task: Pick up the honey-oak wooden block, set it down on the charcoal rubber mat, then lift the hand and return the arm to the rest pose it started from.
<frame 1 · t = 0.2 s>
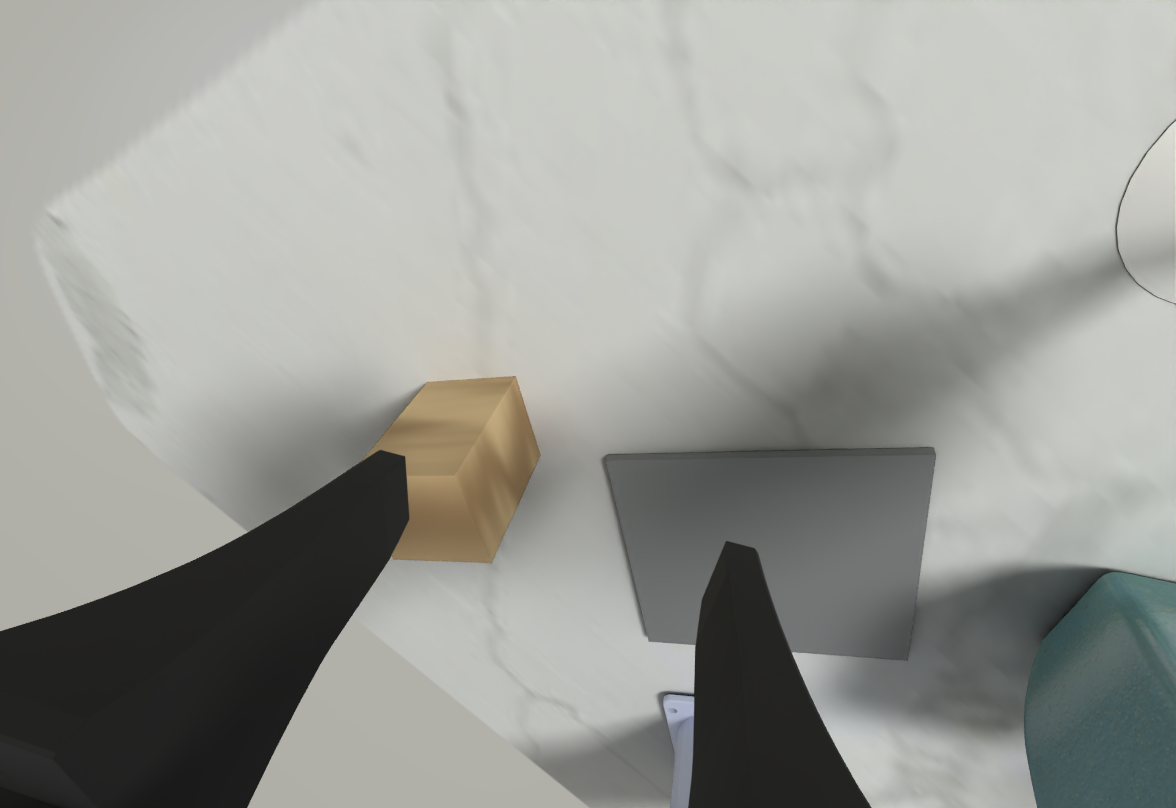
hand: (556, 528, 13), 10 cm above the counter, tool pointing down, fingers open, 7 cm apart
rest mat: (764, 558, 26), on the counter
flower pot: (1134, 617, 23), on the counter
oak block: (485, 419, 25), on the counter
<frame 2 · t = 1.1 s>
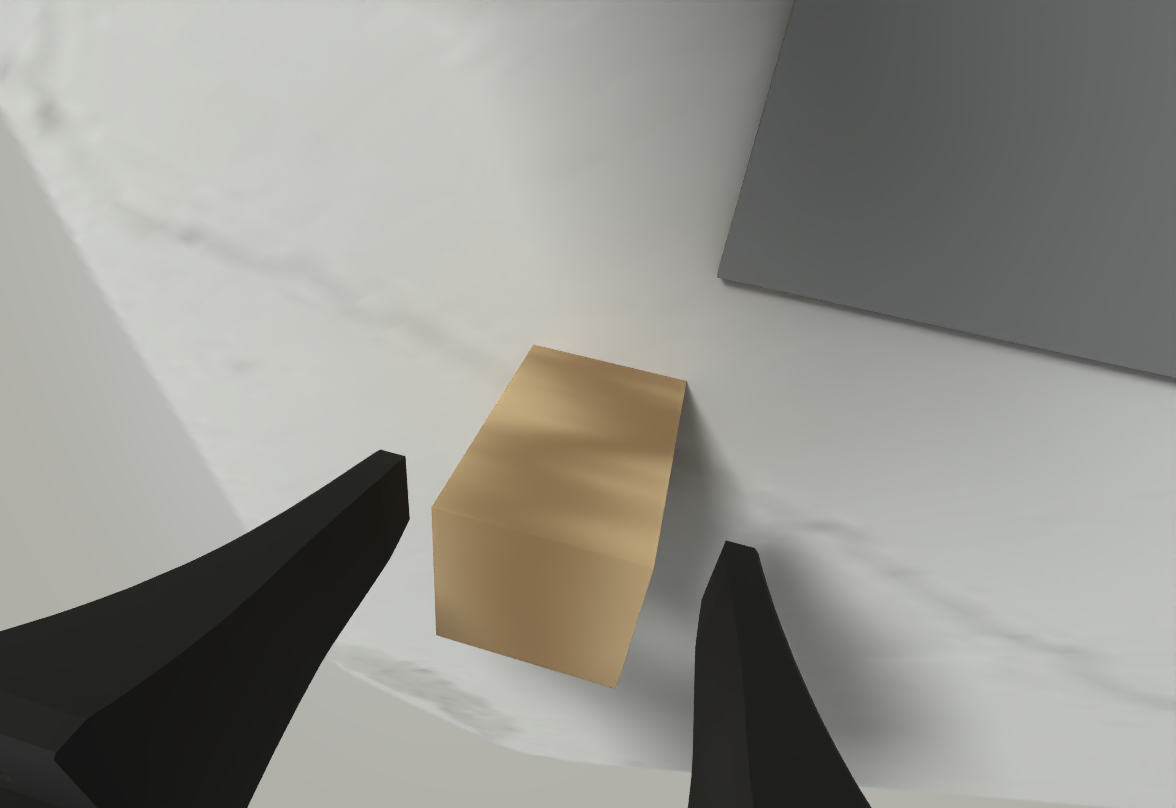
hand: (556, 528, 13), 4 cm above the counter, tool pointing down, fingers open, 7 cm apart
oak block: (597, 423, 16), on the counter
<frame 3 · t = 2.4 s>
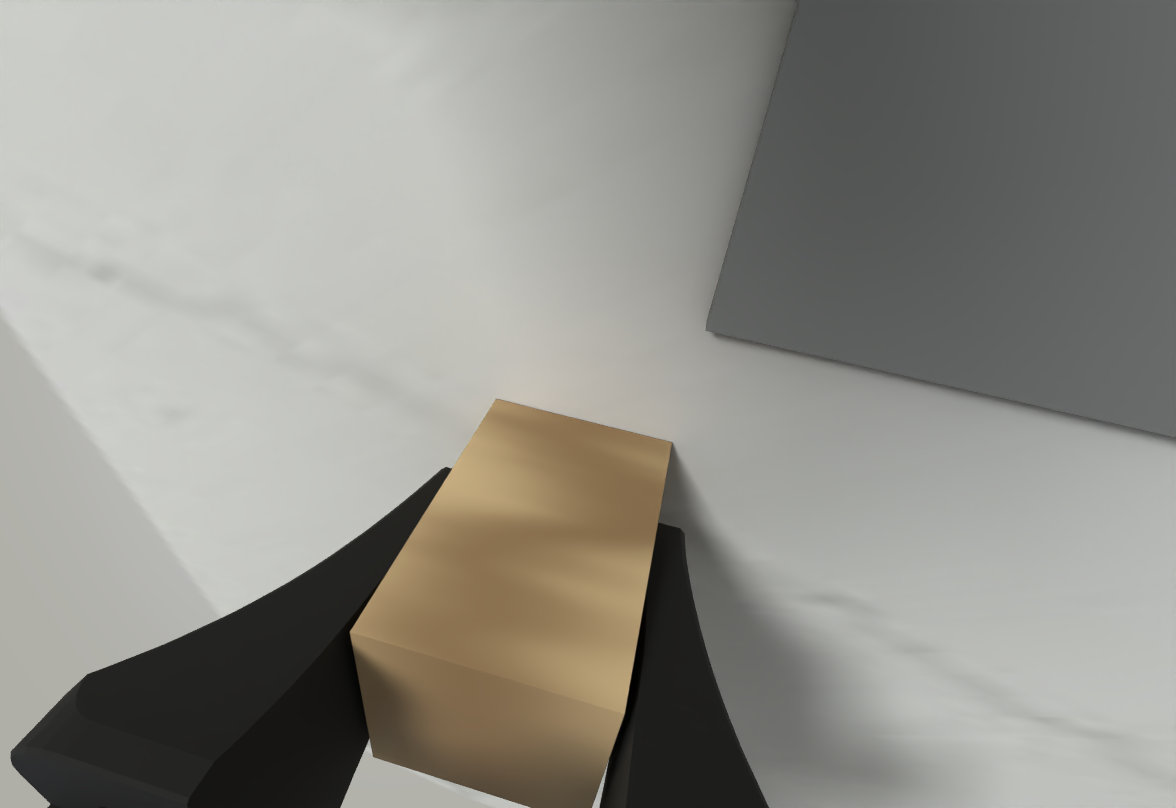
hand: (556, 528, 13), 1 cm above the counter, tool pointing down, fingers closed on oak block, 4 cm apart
oak block: (572, 485, 14), on the counter, touching gripper
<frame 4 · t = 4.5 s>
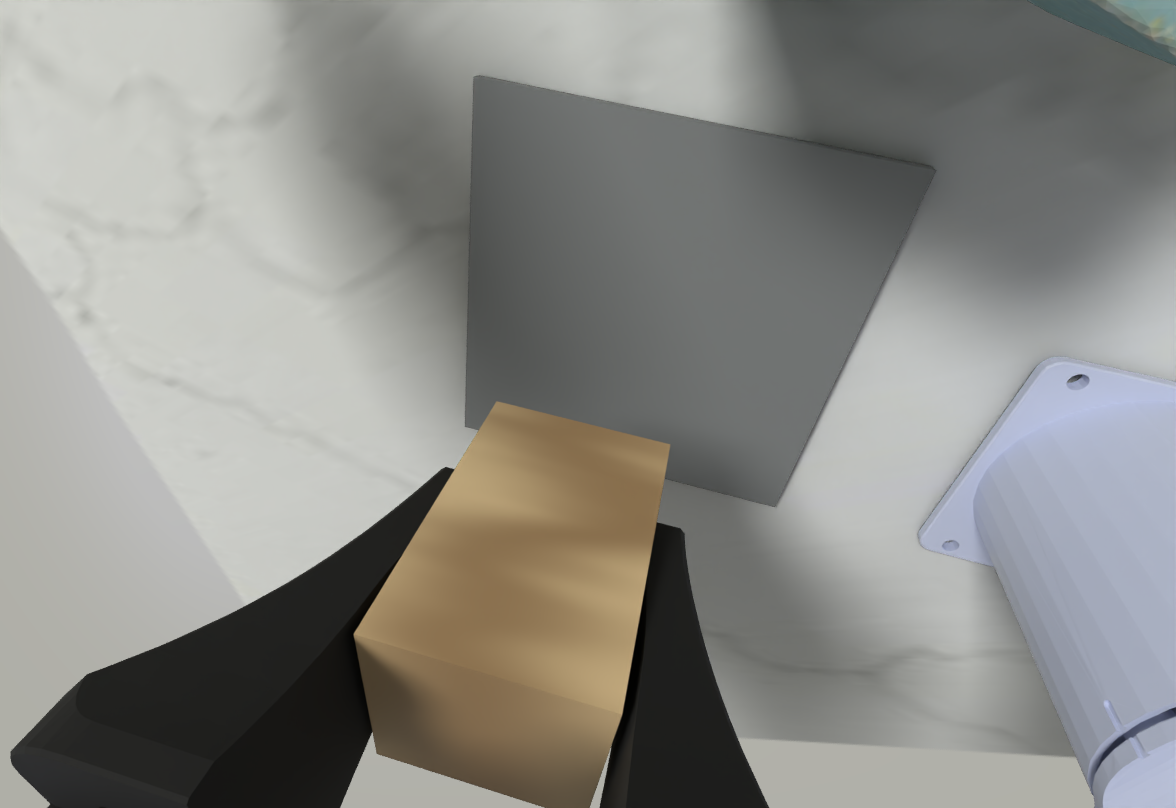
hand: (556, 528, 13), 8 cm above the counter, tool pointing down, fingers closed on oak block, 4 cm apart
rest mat: (650, 321, 19), on the counter
oak block: (571, 486, 14), point 7 cm above the counter, touching gripper
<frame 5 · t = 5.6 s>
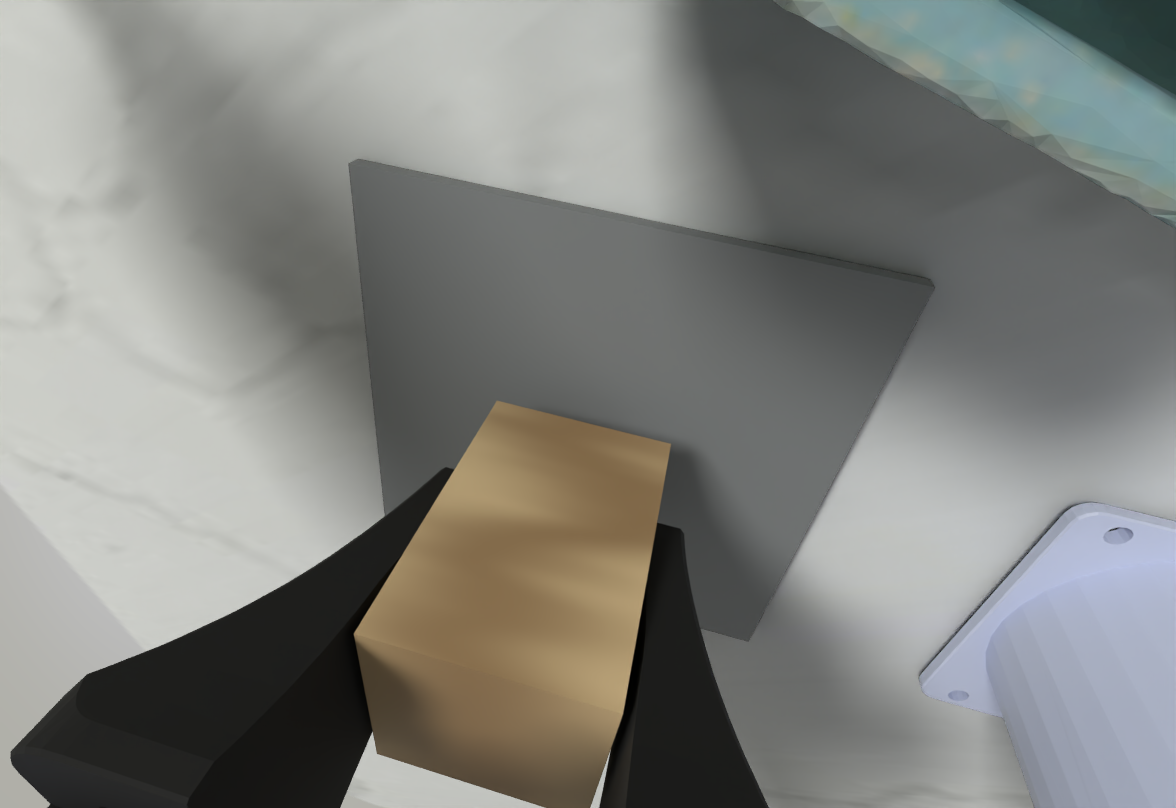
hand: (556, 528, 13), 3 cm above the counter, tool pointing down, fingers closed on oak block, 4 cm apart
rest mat: (590, 438, 16), on the counter
oak block: (572, 485, 14), point 2 cm above the counter, touching gripper
when the fingers open (3 cm above the counter, at t = 6.5 s): oak block stays where it is, resting on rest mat.
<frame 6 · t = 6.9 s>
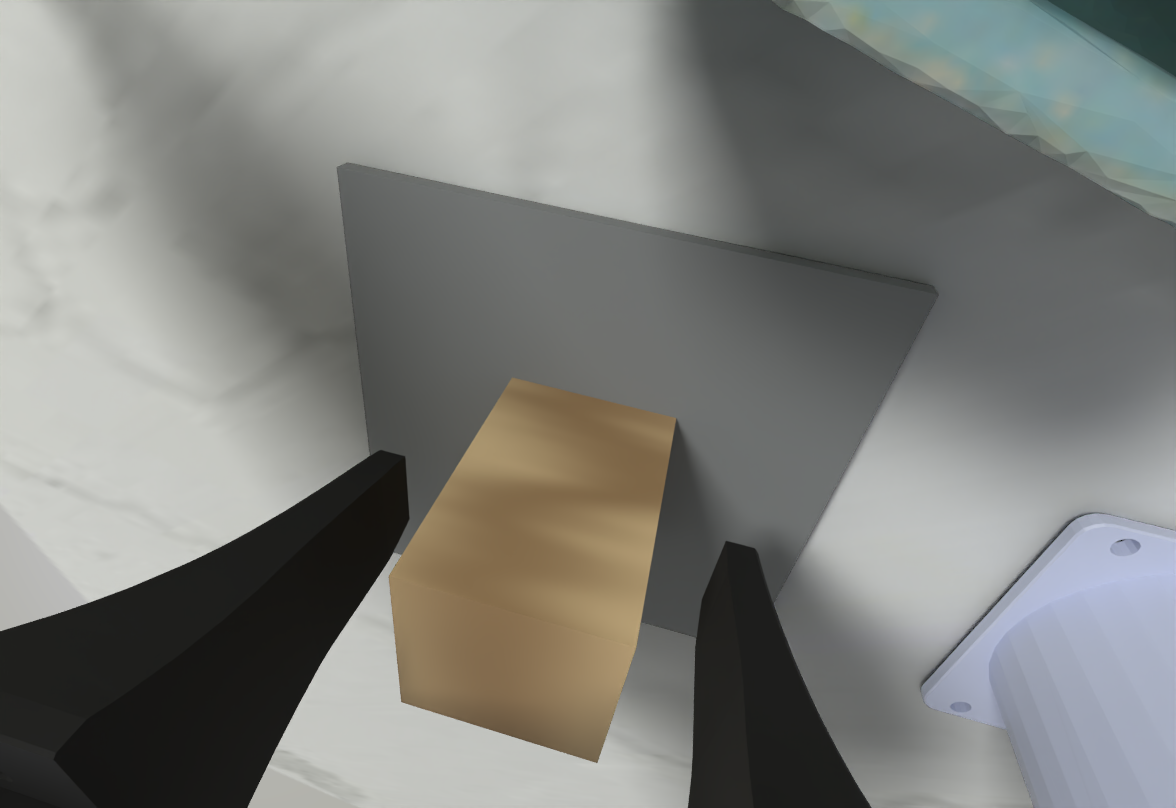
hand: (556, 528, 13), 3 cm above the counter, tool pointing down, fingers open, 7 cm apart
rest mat: (585, 447, 15), on the counter
oak block: (581, 460, 15), resting on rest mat
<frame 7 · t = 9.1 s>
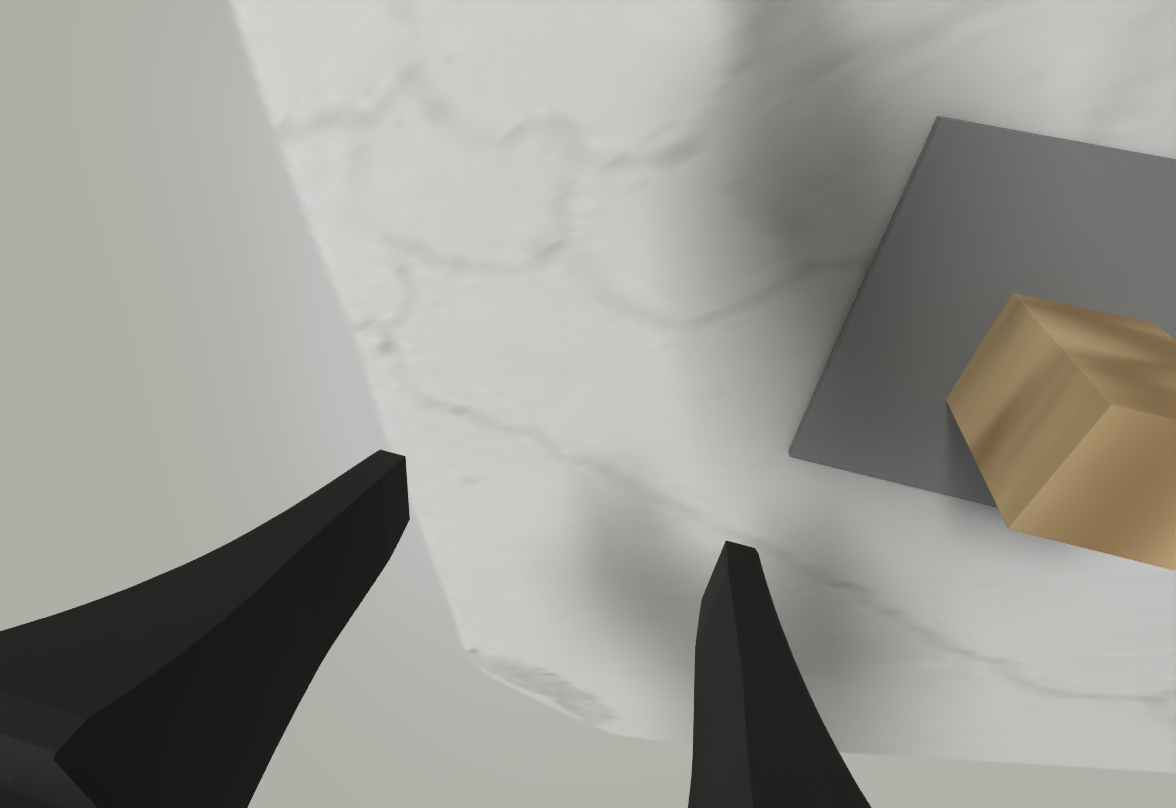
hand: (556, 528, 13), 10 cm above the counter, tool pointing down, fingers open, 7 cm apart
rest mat: (1039, 355, 19), on the counter
oak block: (1042, 364, 19), resting on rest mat
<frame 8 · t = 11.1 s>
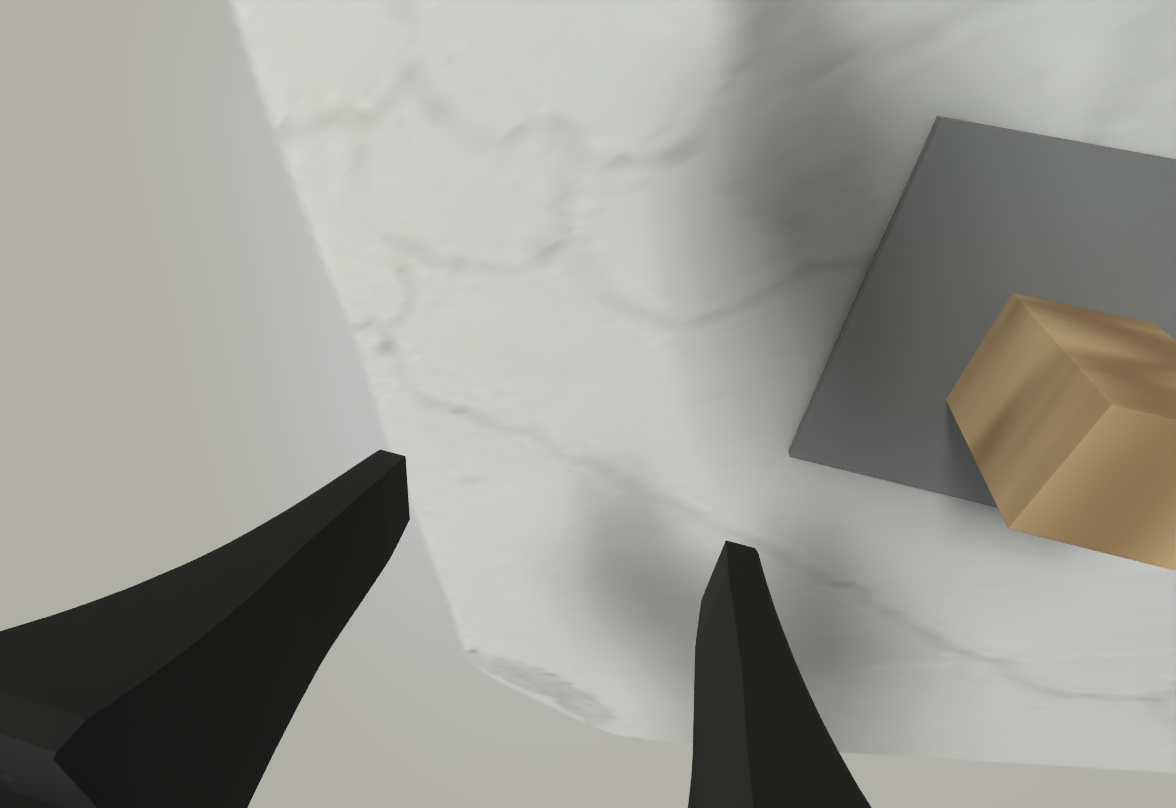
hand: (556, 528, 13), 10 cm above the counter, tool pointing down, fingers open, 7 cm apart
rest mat: (1039, 355, 19), on the counter
oak block: (1042, 364, 19), resting on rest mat
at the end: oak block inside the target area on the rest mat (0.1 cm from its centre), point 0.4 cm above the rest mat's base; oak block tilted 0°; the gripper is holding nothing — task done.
